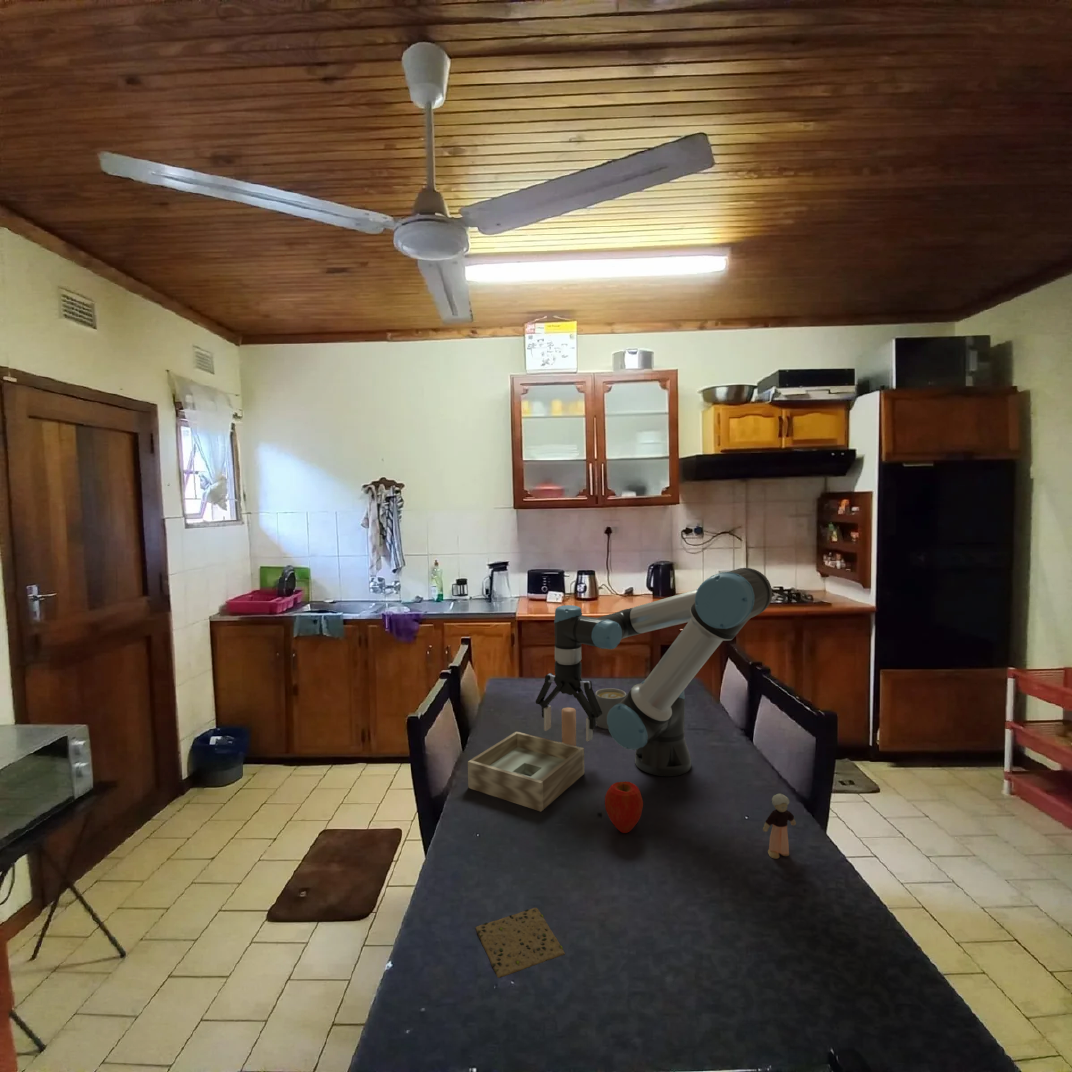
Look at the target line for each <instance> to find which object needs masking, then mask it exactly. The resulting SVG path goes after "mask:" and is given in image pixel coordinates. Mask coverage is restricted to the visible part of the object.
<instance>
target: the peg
mask: <svg viewBox="0 0 1072 1072" xmlns="http://www.w3.org/2000/svg"><path fill="white" fill-rule="evenodd" d="M561 743H565V744H569V745H573V746H577V711H576V708H574V707H563V708H562V709H561Z"/></svg>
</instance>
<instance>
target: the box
mask: <svg viewBox="0 0 1072 1072" xmlns="http://www.w3.org/2000/svg"><path fill="white" fill-rule="evenodd" d="M583 775H585V748H584V747H581V746H577V745H576V746H573V745H569V744H565V743H562V741H556V740H552V739H548V738H544V737H540V736H537V735H532V734H528V733H524V732H520V731H514V732H513V733H511V734H510V735H508V736H506V737H505V738H503V739H502V740H499V742H497V743H495V744H494V745H492V746H490V747H489V748H487V749H485V750H484V751H483V752H481V753H479V754H477V755H476V756H474V757H472V758H471V759H470V760H468V761H467V779H468V780H467V784H468V789H471V790H474V791H476V792H478V793H479V792H480V793H481V794H482V793H483V794H486V795H489V796H491V797H495V798H497V799H501V800H504V801H507V802H510V803H513V804H517V805H520V806H523V807H525V808H528V809H532V810H535V811H538V812H542V811H544V809H545V810H546V808H547V807H548V806H549V805H551V804H552V803H553V802H554V801H555V800H556V799H558V798H559V796H561V795H562V794H563V793H564V792H566V790H568V788H570V787H571V786H572V785H573V784H575V783H576V782H577V781H578V780H579V779H580V778H581V777H582V776H583Z"/></svg>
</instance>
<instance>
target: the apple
mask: <svg viewBox="0 0 1072 1072" xmlns="http://www.w3.org/2000/svg"><path fill="white" fill-rule="evenodd" d="M641 793H642V792H641V790H640V788H639V786H637V785H636V784H635V783H633V782H631V781H617V782H614V783H612V784H611V785H610V786H609V788H608V789H607V791H606V792H605V795H604V807H605V811H606V813H607V816H608V818H609V820H610V821H611V823H612V824H613V826H614V827H615V829H617V830H618V831H619V832H621V833H622V834H627V833H630V832H631V831H632V830H633V829H634V827H636V825H637V823H639V821H640V819H641V816H642V812H643V807H644V801H643V796H642V794H641Z"/></svg>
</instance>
